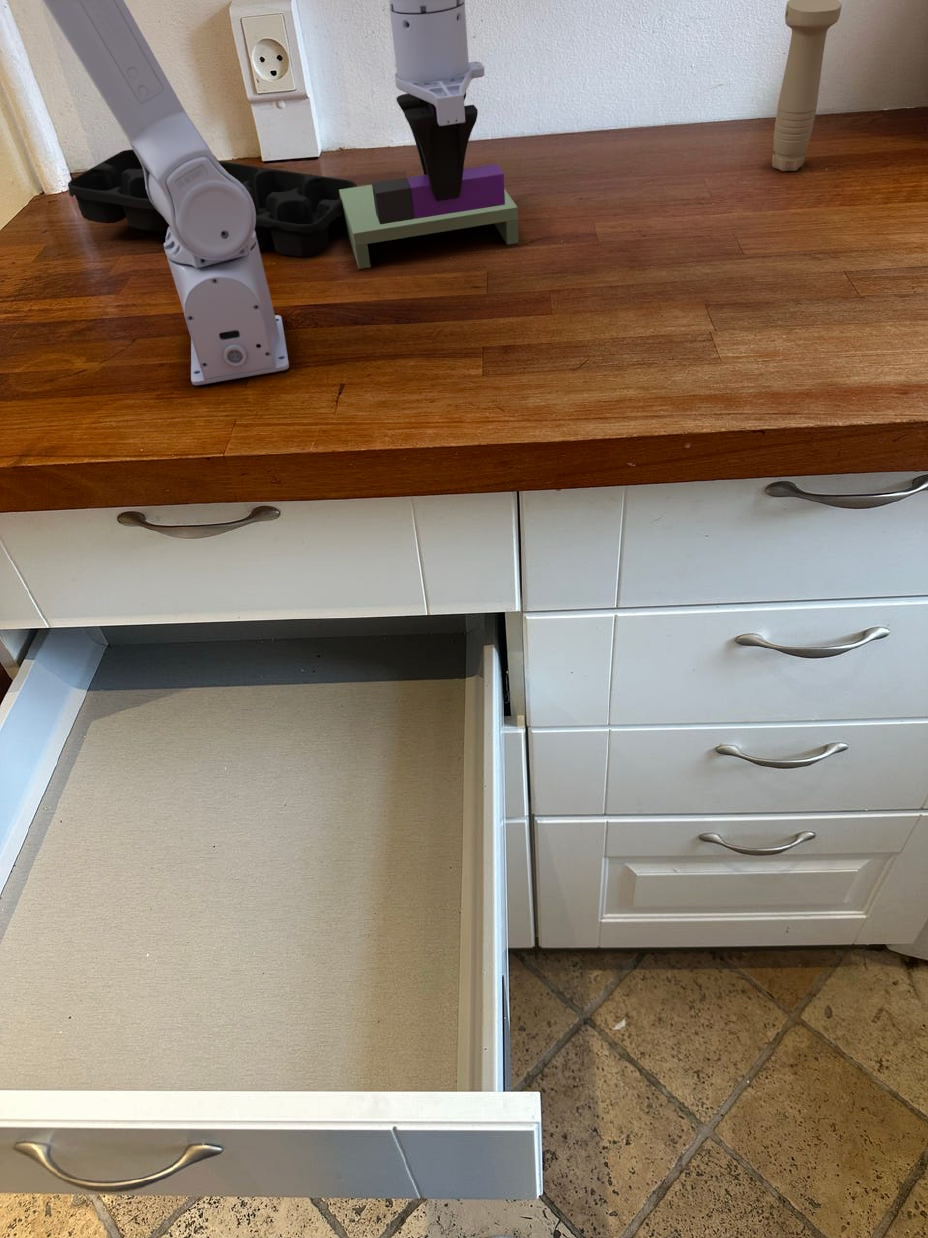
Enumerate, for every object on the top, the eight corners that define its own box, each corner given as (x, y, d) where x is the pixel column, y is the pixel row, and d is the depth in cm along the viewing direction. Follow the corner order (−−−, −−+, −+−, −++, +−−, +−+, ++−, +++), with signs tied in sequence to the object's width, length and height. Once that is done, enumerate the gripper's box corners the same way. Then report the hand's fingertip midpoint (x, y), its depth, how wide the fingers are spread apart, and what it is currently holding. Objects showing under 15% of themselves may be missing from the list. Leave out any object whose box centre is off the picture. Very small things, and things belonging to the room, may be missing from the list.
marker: (505, 204, 79) (503, 173, 77) (380, 224, 78) (375, 193, 76) (498, 194, 81) (496, 163, 79) (376, 213, 80) (371, 182, 78)
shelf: (518, 243, 90) (517, 206, 88) (358, 269, 89) (353, 233, 86) (490, 200, 99) (489, 165, 96) (344, 223, 97) (338, 189, 95)
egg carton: (114, 178, 105) (106, 143, 103) (371, 194, 103) (369, 159, 100) (49, 245, 93) (38, 207, 90) (339, 264, 91) (336, 226, 88)
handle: (804, 155, 101) (832, -6, 90) (816, 176, 96) (847, 9, 86) (759, 157, 101) (782, -3, 91) (769, 179, 97) (794, 13, 86)
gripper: (500, 18, 64) (508, 215, 74) (460, -20, 74) (471, 157, 84) (401, 32, 64) (423, 228, 73) (374, -9, 74) (396, 168, 83)
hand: (443, 191), depth 79 cm, fingers closed on marker, 2 cm apart
